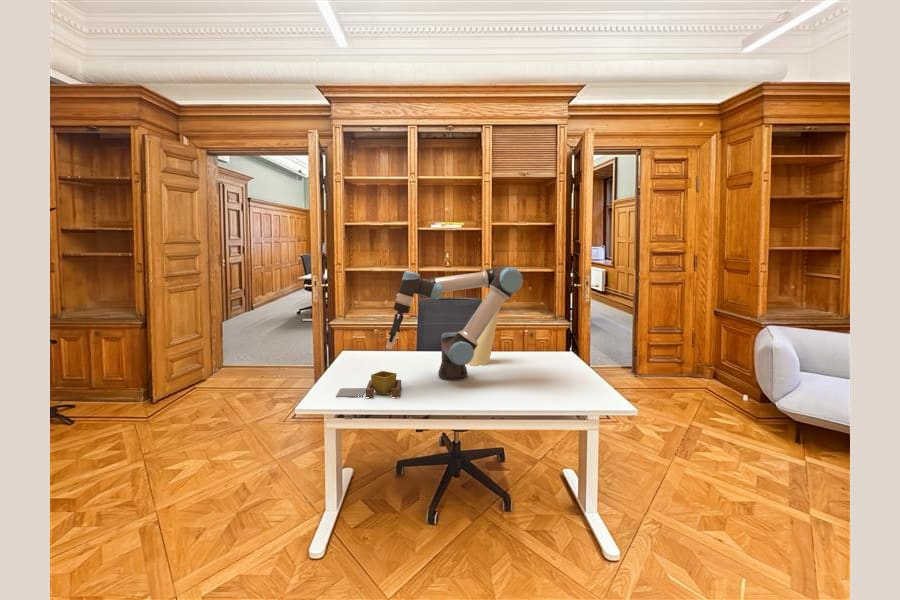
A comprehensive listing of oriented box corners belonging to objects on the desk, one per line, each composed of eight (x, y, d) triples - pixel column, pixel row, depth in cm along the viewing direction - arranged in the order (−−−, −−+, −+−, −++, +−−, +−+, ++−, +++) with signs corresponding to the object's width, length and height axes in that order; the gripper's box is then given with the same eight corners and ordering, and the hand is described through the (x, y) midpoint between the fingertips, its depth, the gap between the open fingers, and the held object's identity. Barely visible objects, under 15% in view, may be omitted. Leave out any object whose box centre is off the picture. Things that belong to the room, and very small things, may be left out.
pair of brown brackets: (401, 387, 238) (401, 379, 238) (399, 397, 224) (399, 389, 223) (369, 388, 238) (369, 380, 237) (365, 398, 223) (365, 389, 222)
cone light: (454, 365, 281) (454, 303, 276) (460, 357, 298) (460, 299, 294) (498, 367, 276) (499, 304, 272) (501, 359, 294) (502, 300, 289)
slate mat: (366, 389, 236) (366, 388, 236) (362, 397, 224) (362, 396, 224) (340, 389, 236) (340, 388, 236) (335, 397, 224) (335, 396, 224)
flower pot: (397, 392, 232) (397, 373, 231) (385, 397, 225) (385, 377, 224) (382, 389, 237) (382, 370, 236) (370, 394, 229) (370, 374, 228)
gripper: (398, 299, 247) (385, 340, 248) (392, 302, 222) (378, 348, 223) (412, 303, 247) (400, 344, 248) (408, 307, 222) (395, 353, 223)
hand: (390, 346), depth 235 cm, fingers open, 13 cm apart
